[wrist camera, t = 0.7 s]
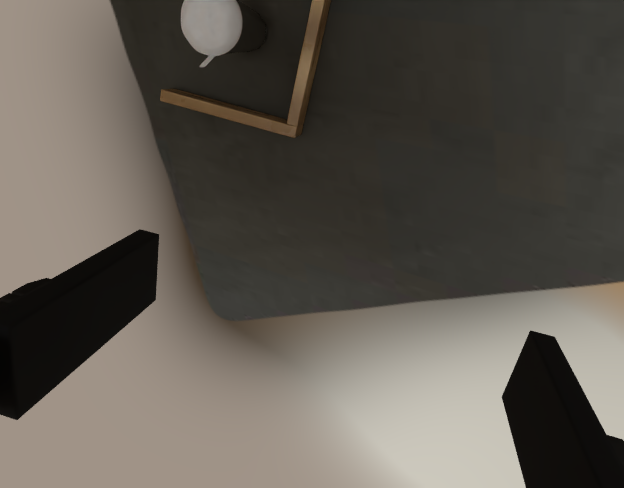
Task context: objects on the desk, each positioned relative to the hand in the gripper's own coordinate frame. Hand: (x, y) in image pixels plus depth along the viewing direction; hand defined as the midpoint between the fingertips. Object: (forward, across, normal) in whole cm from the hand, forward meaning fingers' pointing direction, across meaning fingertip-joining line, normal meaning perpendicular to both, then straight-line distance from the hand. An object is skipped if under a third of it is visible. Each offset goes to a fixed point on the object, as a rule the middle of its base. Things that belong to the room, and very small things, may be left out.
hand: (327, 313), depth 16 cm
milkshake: (+28, -14, +8) cm, 32 cm away
